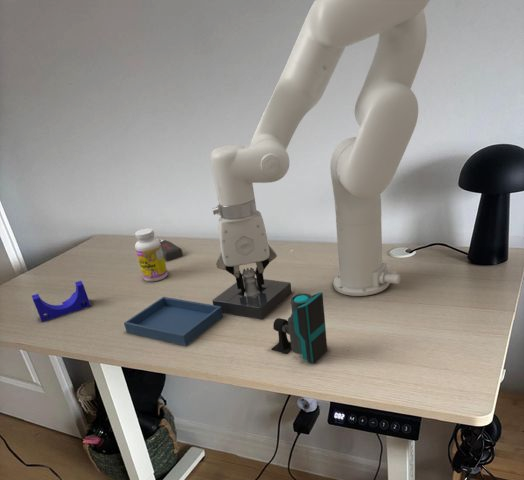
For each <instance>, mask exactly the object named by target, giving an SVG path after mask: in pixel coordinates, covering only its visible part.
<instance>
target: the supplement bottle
mask: <svg viewBox="0 0 524 480" xmlns="http://www.w3.org/2000/svg"><path fill="white" fill-rule="evenodd" d="M134 234H135V238H136V239H137V241H136V242H135V244H134V249H135V253H136V256H137V260H138V263H139V267H140V270H141V274H142V275H141V276H142V278H143V280H144V281H146V282H159V281H161V280H164V279H165V278H166V277H167V276H168V268H167V264H166V260H164V256H163V252H162V248H161V244H160V242H161V240H160V239H158V238H157V237H155V232H154V229H153V228H148V227H147V228H142V229H139V230H137V231H136V232H135V233H134Z"/></svg>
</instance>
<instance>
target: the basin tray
mask: <svg viewBox="0 0 524 480" xmlns="http://www.w3.org/2000/svg"><path fill="white" fill-rule="evenodd" d="M223 317H224V313H223V312H222V307H221V306H215V305H213V304H208V303H203V302H197V301H192V300H191V301H190V300H186V299H179V298H173V297H167V296H162V297H161V298H159V299H157V300H156V301H155V302H153V303H151V304H150V305H148V306H147V307H145V308H144V309H143V310H141V311H140V312H138V313H136V314H135V315H134V316H132V317H130V318H128V320H126V321H125V322H123V325H124V328H125V332H126V333H127V334H131V335H135V336H139V337H143V338H149V339H153V340H158V341H162V342H165V343H171V344H174V345H180V346H184V347H187V346H189V345H190V344H191V343H192V342H193V341H195V340H196V339H197V338H198V337H200V335H202V334H203V333H204V332H206V331H207V330H208V329H209V328H211V327H212V326H213V325H214V324H216V323H217V322H218V321H220V320H221V319H222V318H223Z"/></svg>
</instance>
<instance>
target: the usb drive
mask: <svg viewBox="0 0 524 480" xmlns="http://www.w3.org/2000/svg"><path fill="white" fill-rule="evenodd" d="M160 244H161V248H162V252H163V256H164V260H165V262H168V261H170V260H171V261H172V260H174V259H178V258H181V257H183V256H184V254H183V251H182V248H181V247H180V246H177V245H176V244H174V243H173V242H171V241H169V240H167V239H165V240H160Z"/></svg>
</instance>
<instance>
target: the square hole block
mask: <svg viewBox="0 0 524 480" xmlns="http://www.w3.org/2000/svg"><path fill="white" fill-rule="evenodd" d="M242 278H243V284H244V290H245V282H244V277H242ZM255 278H256V277H255ZM256 286H257V289H258V290H259V288H258V285H257V278H256ZM259 292H260V294H259V295H258V296H256V297H255V298H254V297H248V296H244V295H245V294H244V293H243V294H242V292H241V289H238V287H237V282H235V283H234V284H232V285H231V286H229V287H228V288H227V289H225V290H224V291H222V293H220V294H219V295H217V296H216V297H214V298H213V299H212V300H211V302H212V305H215V306H221V307H222V312H223V314H229V315H235V316H239V317H245V318H250V319H256V320H257V319H258V320H264V319H265V318H266V317H267V316H269V314H270V313H272V312H273V311H274V310H275V309H277V308H278V306H280V305H281V304H282V303H283V302H284V301H286V299H287V298H289V297H290V296H291V295H293V291H292V283H291V282H290V281H280V280H274V279H267V278H266V279H265V278H264V285H262V290H259Z"/></svg>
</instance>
